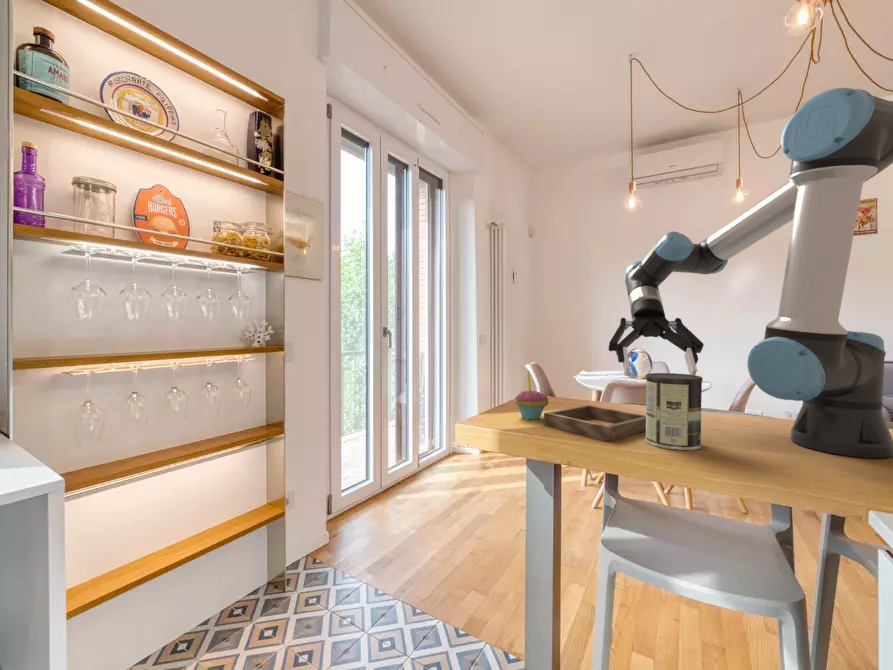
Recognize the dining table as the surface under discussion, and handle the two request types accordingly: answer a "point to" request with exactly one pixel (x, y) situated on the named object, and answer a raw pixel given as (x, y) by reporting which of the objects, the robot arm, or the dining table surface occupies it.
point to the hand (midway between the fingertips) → (659, 373)
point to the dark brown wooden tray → (572, 423)
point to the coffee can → (673, 410)
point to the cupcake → (531, 402)
